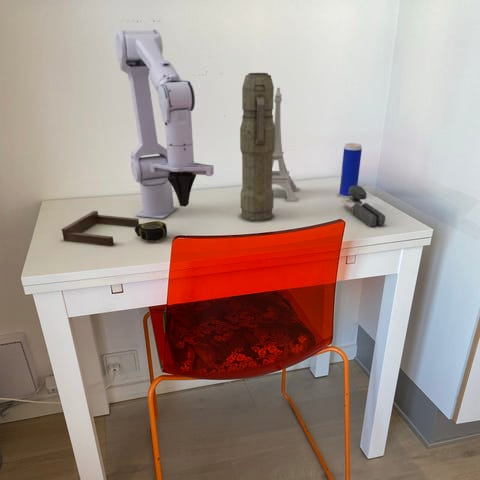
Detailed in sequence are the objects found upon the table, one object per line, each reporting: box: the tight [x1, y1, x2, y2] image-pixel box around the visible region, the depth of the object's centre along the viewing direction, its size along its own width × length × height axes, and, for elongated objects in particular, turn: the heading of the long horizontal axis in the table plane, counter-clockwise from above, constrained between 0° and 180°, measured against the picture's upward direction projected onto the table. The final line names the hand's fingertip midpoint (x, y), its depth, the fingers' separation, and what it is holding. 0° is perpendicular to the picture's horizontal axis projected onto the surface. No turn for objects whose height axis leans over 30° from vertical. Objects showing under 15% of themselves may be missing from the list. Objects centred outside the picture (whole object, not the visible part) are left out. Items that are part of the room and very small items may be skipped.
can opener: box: [341, 185, 386, 228], centre depth 128 cm, size 19×5×6 cm, turn 13°
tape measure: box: [134, 220, 168, 242], centre depth 115 cm, size 7×7×4 cm
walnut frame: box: [61, 210, 140, 247], centre depth 119 cm, size 14×13×3 cm
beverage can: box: [339, 142, 363, 198], centre depth 141 cm, size 5×5×15 cm
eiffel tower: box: [272, 87, 298, 202], centre depth 140 cm, size 13×13×30 cm
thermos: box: [239, 72, 275, 223], centre depth 120 cm, size 9×12×35 cm
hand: (184, 205), depth 109 cm, fingers closed
